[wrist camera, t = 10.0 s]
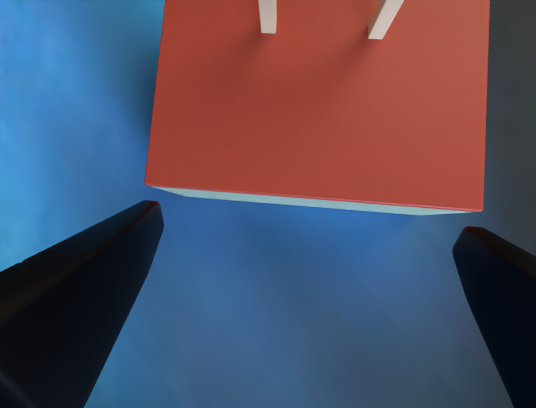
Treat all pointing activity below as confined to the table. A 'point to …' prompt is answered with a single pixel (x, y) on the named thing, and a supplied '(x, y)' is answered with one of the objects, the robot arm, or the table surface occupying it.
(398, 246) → the table surface
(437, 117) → the lid
